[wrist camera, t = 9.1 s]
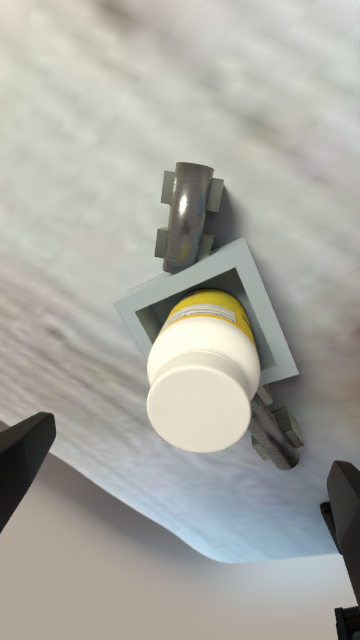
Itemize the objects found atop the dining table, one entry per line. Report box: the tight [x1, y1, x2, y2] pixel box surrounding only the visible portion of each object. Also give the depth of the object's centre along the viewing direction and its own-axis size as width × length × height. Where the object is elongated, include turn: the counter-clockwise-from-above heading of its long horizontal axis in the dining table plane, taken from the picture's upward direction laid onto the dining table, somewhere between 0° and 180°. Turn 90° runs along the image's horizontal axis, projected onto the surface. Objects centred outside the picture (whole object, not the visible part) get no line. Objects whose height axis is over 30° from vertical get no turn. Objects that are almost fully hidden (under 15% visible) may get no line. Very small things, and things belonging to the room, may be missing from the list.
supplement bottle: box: [147, 287, 260, 453], centre depth 15 cm, size 5×5×10 cm
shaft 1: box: [155, 162, 224, 274], centre depth 16 cm, size 6×3×4 cm, turn 171°
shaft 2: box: [248, 383, 304, 470], centre depth 20 cm, size 7×3×4 cm, turn 36°
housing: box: [113, 237, 299, 386], centre depth 18 cm, size 8×8×4 cm
